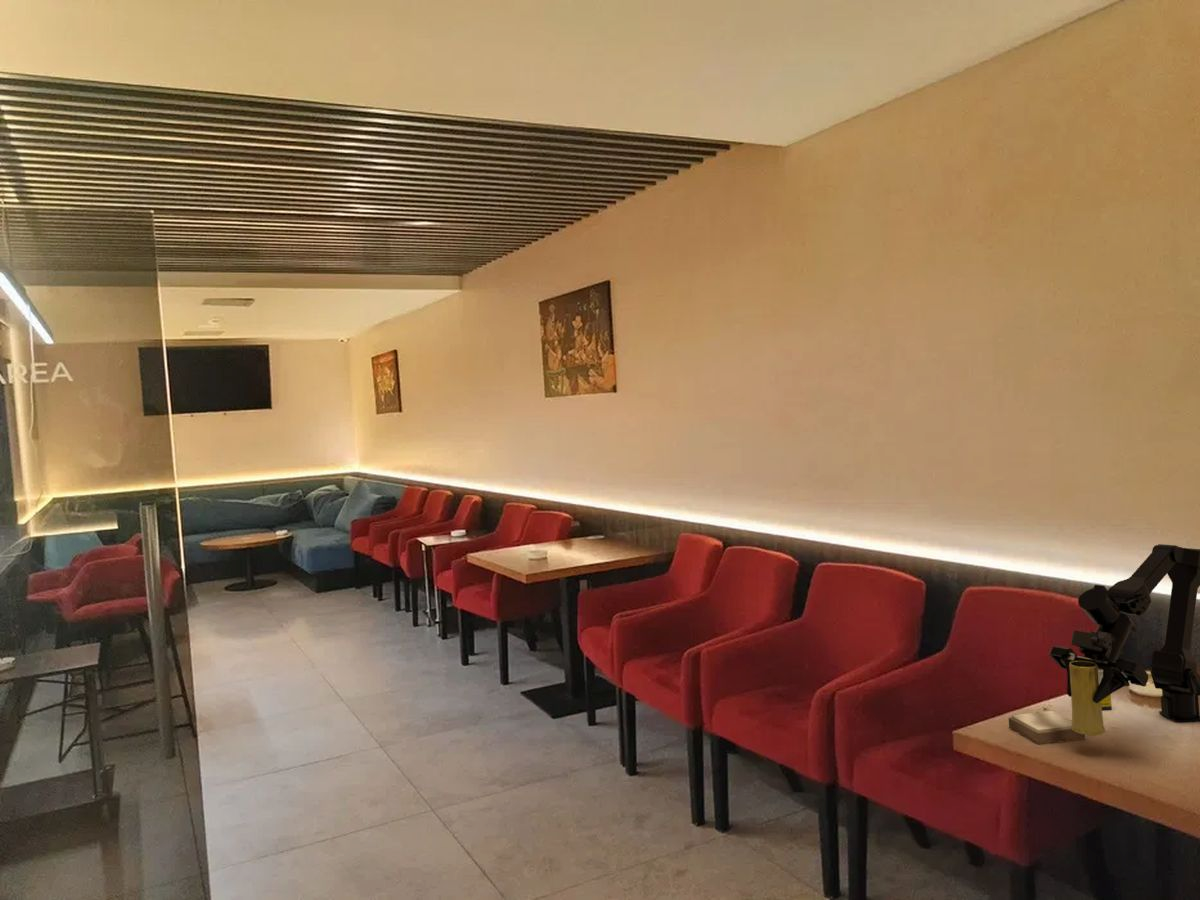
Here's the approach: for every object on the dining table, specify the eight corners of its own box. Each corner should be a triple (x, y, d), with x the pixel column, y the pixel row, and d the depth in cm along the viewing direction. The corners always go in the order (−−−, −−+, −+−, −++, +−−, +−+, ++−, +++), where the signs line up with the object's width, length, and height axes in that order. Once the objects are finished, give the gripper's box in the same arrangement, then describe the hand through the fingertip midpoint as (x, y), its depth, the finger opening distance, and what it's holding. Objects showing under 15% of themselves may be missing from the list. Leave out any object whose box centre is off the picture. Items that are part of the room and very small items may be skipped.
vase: (1093, 737, 175) (1088, 669, 175) (1065, 730, 181) (1060, 663, 181) (1111, 731, 178) (1106, 663, 178) (1083, 723, 184) (1078, 658, 183)
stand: (1053, 722, 198) (1052, 710, 198) (1085, 738, 187) (1084, 725, 187) (1009, 727, 197) (1008, 715, 196) (1038, 744, 186) (1037, 730, 186)
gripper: (1050, 609, 189) (1022, 668, 184) (1135, 622, 173) (1106, 687, 168) (1075, 637, 193) (1048, 696, 188) (1161, 653, 176) (1133, 718, 172)
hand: (1081, 698), depth 179 cm, fingers closed on vase, 5 cm apart
